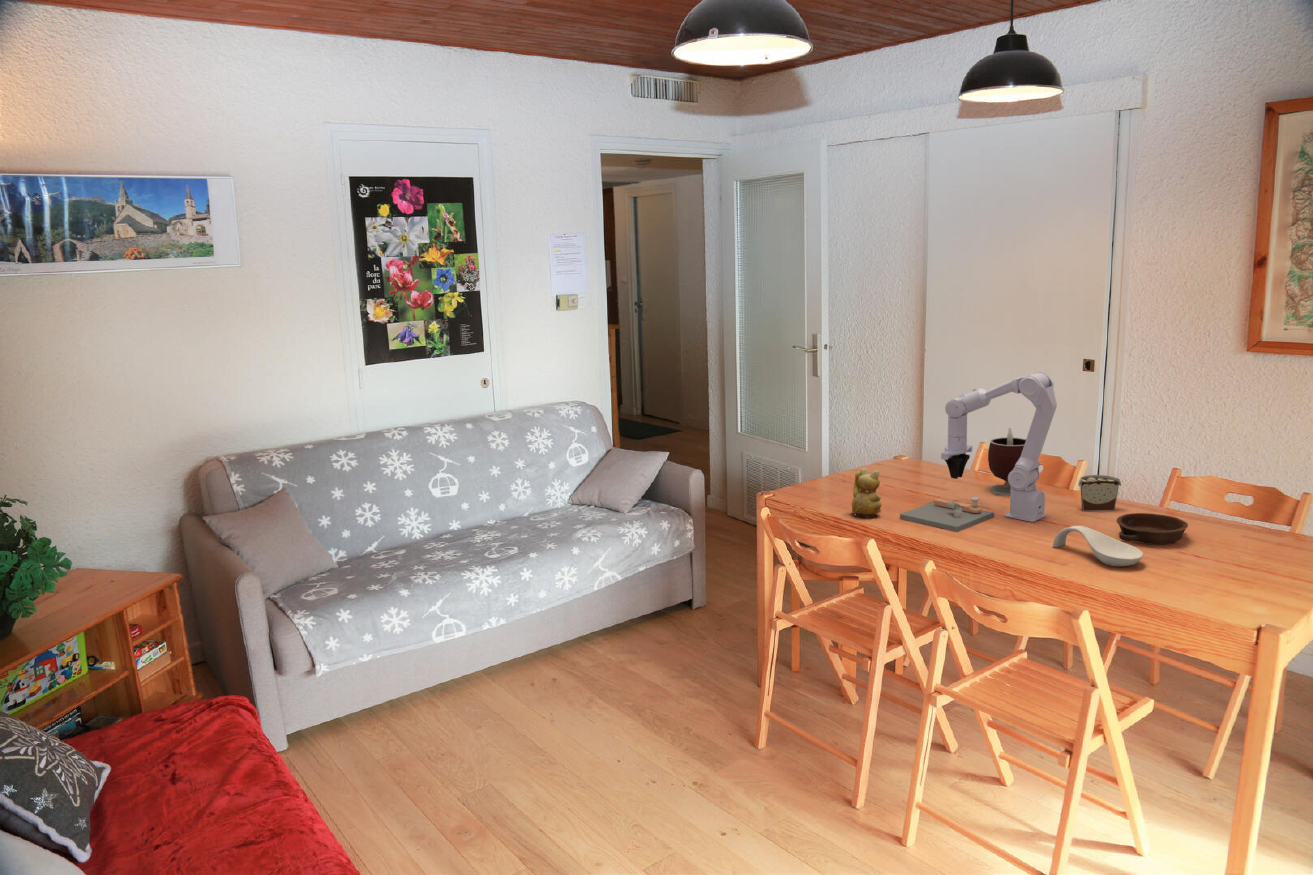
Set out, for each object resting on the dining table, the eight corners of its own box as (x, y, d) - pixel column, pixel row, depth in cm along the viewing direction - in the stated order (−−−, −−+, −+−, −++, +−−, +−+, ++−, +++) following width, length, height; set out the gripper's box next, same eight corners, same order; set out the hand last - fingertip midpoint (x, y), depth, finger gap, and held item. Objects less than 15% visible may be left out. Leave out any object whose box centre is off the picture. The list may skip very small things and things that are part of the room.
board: (993, 516, 287) (993, 512, 286) (957, 531, 274) (957, 526, 274) (936, 505, 302) (937, 500, 302) (899, 518, 289) (899, 514, 289)
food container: (1112, 505, 293) (1113, 474, 291) (1119, 510, 287) (1121, 479, 285) (1071, 505, 294) (1072, 475, 292) (1077, 511, 288) (1079, 479, 286)
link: (983, 511, 287) (983, 497, 286) (977, 513, 284) (977, 500, 284) (939, 502, 298) (940, 489, 297) (933, 504, 296) (933, 491, 295)
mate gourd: (1032, 497, 305) (1034, 437, 301) (987, 495, 310) (989, 436, 305) (1029, 485, 320) (1031, 428, 316) (986, 484, 324) (988, 427, 320)
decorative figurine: (885, 514, 294) (885, 468, 291) (873, 521, 288) (873, 473, 285) (857, 510, 301) (857, 464, 297) (845, 516, 294) (845, 470, 291)
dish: (1095, 535, 266) (1096, 519, 265) (1153, 524, 273) (1154, 508, 272) (1147, 553, 250) (1148, 535, 249) (1207, 540, 257) (1208, 523, 256)
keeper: (953, 512, 288) (953, 501, 287) (961, 517, 283) (961, 505, 282) (947, 513, 288) (947, 502, 287) (955, 517, 283) (955, 506, 282)
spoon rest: (1151, 565, 241) (1153, 538, 240) (1124, 574, 236) (1126, 547, 234) (1070, 542, 261) (1071, 517, 260) (1043, 551, 255) (1044, 525, 254)
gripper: (958, 430, 303) (958, 471, 306) (933, 438, 294) (932, 479, 297) (978, 433, 298) (977, 474, 300) (952, 440, 288) (952, 483, 291)
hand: (956, 477), depth 298 cm, fingers closed
